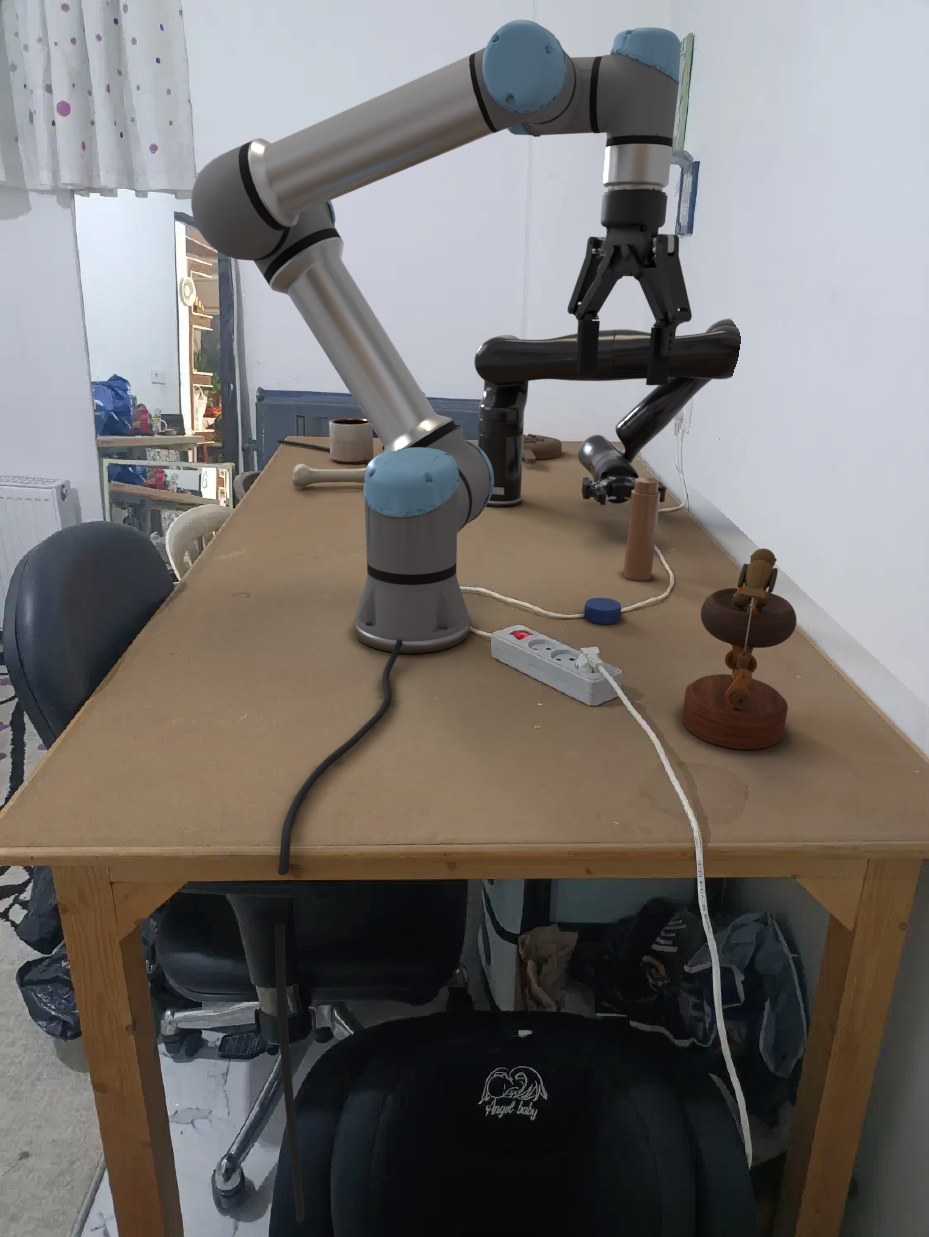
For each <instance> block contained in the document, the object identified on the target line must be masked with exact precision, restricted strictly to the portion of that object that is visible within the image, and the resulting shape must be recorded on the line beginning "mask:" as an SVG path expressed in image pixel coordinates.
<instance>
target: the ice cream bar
mask: <svg viewBox="0 0 929 1237" xmlns="http://www.w3.org/2000/svg"><path fill="white" fill-rule="evenodd" d="M562 452H563V443H562V441H561V440H560V439H558V438H555V437H552V436H551V437H550V436H545V435H540V434H532V433H528V434H525V433H523V455H522V460H524V461H525V463H526V464H536V461H537V460H546V459H554V458H557V457H560V456H561V455H562Z"/></svg>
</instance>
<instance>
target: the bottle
mask: <svg viewBox="0 0 929 1237" xmlns="http://www.w3.org/2000/svg"><path fill="white" fill-rule="evenodd" d="M659 481H660V480H658V479H657V478H653V477H639V478H637V479H635V481H634V483H635V487H634V490H632V491H631V499H630V500H629V502H630V503H629V511H628V522H627V523H628V524H627V534H626V535H627V536H626V545H625V557H624V566H623V577H624V578H626V579H628V580H630V581H636V582H638V581H641V582H642V581H648V580H650V579H652V575H653V574H652V573H653V565H654V557H655V556H654V555H655V548H656V535H657V527H658V517H659V507H660V502H659V499H660V492H659V491H658V482H659Z"/></svg>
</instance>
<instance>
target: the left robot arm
mask: <svg viewBox="0 0 929 1237" xmlns="http://www.w3.org/2000/svg"><path fill="white" fill-rule="evenodd" d="M681 48H682V43H681V39H680V38H679V37H678V35H677V33H675V32H674V31H671V30H669V29H667V28H661V27H649V26H648V27H636V28H634V29H625V30H623V31H620V32H619V33H617V34H616V35H615V37H614V38H613V42H612V48H611V49H610V54H603V55H598V56H577V57H576V56H575V57H574V56H573V57H571V56H570V55H569V54H568V53H567V52H566V51H565V49H564V48H563V47H562V44H561V42H560V40H559V39H558V38H557V37H556V36H555V34H554V33H552V32H551V30H549V29H547V28H545V27H544V26H543V25H541V24H539V23H537V22H536V21H532V20H529V19H515V20H511V21H509V22H506V23H505V24H503V25H501V26H500V27H499V28H498V29H497V30H496V31H495V32H494V33H493V34H492V36H491V37H490V39H489V41H488V42H487V44H486V46H485V47H483V48H481V49H479V50H477V51H475V52H473V53H471V54H469V55H467V56H465V57H462V58H460V59H458V60H455V61H454V62H451V63H449V64H447V65H444V66H442V67H440V68H438V69H435V70H433V71H431V72H428V73H426V74H424V75H422V76H420V77H418V78H415V79H412V80H411V81H409V82H406V83H404V84H402V85H399V86H398V87H395V88H393V89H390V90H388V91H386V92H383V93H381V94H380V95H377V96H375V97H373V98H370V99H368V100H366V101H364V102H361V103H359V104H356V105H355V106H353V107H350V108H348V109H346V110H343V111H342V112H341V111H340V112H339V113H337V114H335V115H334V114H333V115H332V116H330V117H328V118H326V119H323V120H322V121H319V122H316V123H314V124H312V125H310V126H307V127H305V128H303V129H301V130H298V131H296V132H294V133H292V134H290V135H287V136H285V137H283V138H281V139H278V140H276V141H274V142H270V141H268V140H267V139H264V138H262V137H260V138H259V137H258V138H255V139H254V138H253V139H252V140H249V141H248V142H246V143H244V144H241V145H238V146H237V147H235V148H232V149H230V150H227V151H226V152H224V153H221V154H219V155H218V156H216V157H214V158H212V159H211V160H210V161H208V162H207V163H206V164H205V165H204V166H203V167H202V168H201V170H200V171H199V172H198V173H197V175H196V177H195V180H194V182H193V185H192V189H191V196H190V197H191V198H190V207H191V213H192V217H193V220H194V223H195V225H196V228H197V229H198V231H199V234H200V235H201V236H202V238H203V239H204V241H206V242H207V243H208V245H209V246H211V247H212V248H213V249H214V250H215V251H217V252H218V253H220V254H222V255H224V256H226V257H228V258H231V259H234V260H240V261H253V262H254V264H255V266H256V267H257V268H258V270H259V272H260V273H261V275H262V277H263V278H264V280H265V281H266V283H267V284H268V286H269V288H270V289H271V290H272V291H274V292H277V293H280V294H285V295H287V296H288V297H289V298H290V300H291V301H292V303H293V305H294V306H295V308H296V309H297V311H298V313H299V314H300V315H301V317H302V319H303V321H304V322H305V324H306V325H307V327H308V329H309V330H310V332H311V333H312V335H313V337H314V338H315V340H316V342H317V343H318V344H319V346H320V347H321V350H323V352H324V354H325V355H326V357H327V358H328V360H329V362H330V363H331V364H332V366H333V368H334V370H335V371H336V373H337V374H338V376H339V378H340V379H341V380H342V383H343V384H344V385H345V387H346V388H347V390H348V392H349V393H350V395H351V396H352V398H353V400H354V401H355V403H356V404H357V406H358V407H359V409H360V411H361V413H362V414H363V416H364V417H365V419H367V420H368V422H369V423H370V425H371V426H372V428H373V432H374V433H375V435H376V436H377V438H378V439H379V441H380V443H381V444H382V447H383V446H384V449H383V452H382V453H380V454H378V455H376V456H375V457H373V459H372V460H370V462H369V464H367V466H366V467H367V468H366V467H365V468H366V471H365V483H363V489H362V493H363V499H364V520H365V545H366V546H365V548H366V549H365V550H366V579H365V584H364V586H363V589H362V592H361V596H360V600H359V602H358V606H357V609H356V612H355V617H354V633H355V636H356V638H357V639H358V640H359V641H360V642H362V643H363V644H365V645H367V646H368V647H371V648H374V649H377V650H380V651H384V652H390V656H389V658H388V660H387V662H386V664H385V666H384V669H383V673H382V677H381V678H382V680H381V683H382V690H383V700H382V702H381V705H380V707H379V708H378V710H377V711H376V713H374V715H373V716H372V717H371V718H370V719H369V720H368V721H367V722H366V723H365V724H364V725H363V726H362V727H361V728H360V729H359V730H358V731H356V733H355V734H354V735H352V736H351V737H350V738H349V739H348V740H347V741H346V742H344V743H343V744H342V745H341V746H339V747H338V748H337V749H335V750H334V751H333V752H332V753H331V754H329V756H327V757H326V758H325V759H324V760H322V762H321V763H320V764H319V765H318V766H317V767H316V768H315V769H314V770H313V772H312V773H311V774H310V775H309V777H307V779H306V780H305V781H304V783H303V784H302V786H301V787H300V788H299V790H298V792H297V793H296V794H295V796H294V798H293V800H292V802H291V804H290V807H289V809H288V811H287V813H286V816H285V819H284V821H283V824H282V829H281V838H280V850H279V861H278V869H277V873H278V875H280V876H284V875H287V873H288V872H289V868H290V867H289V865H290V856H291V842H292V831H293V826H294V822H295V820H296V817H297V814H298V812H299V810H300V807H301V805H302V803H303V801H304V799H305V798H306V796H307V794H308V793H309V791H310V790H311V789H312V787H313V786H314V784H315V783H316V782H317V781H318V780H319V779H320V777H321V776H322V775H323V774H324V773H325V771H326V770H327V769H328V768H330V767H331V765H332V764H334V763H335V762H336V761H337V760H338V759H340V758H341V757H342V756H344V754H346V753H347V752H348V751H349V750H351V749H352V748H353V747H354V746H356V745H357V744H358V743H359V741H361V740H362V738H364V736H366V735H367V734H368V732H370V731H371V730H372V729H373V728H374V727H375V726H376V725H377V724H378V723H379V721H380V720H381V719H382V718H383V717H384V715H385V714H386V712H387V711H388V709H389V706H390V704H391V700H392V691H391V687H390V686H391V685H390V676H391V672H392V669H393V666H394V665H395V662H396V660H397V657H398V655H399V654H425V653H433V652H439V651H443V650H446V649H449V648H452V647H455V646H457V645H458V644H460V643H462V642H463V641H464V640H466V639H467V637H468V636H469V634H470V615H469V612H468V608H467V606H466V601H465V599H464V596H463V593H462V589H461V586H460V583H459V581H458V577H457V561H458V560H457V559H458V558H457V557H458V556H457V554H458V552H457V551H458V533H459V532H460V531H461V530H462V529H464V528H465V527H466V526H467V525H468V524H470V523H471V522H473V521H474V520H476V519H477V518H478V517H480V515H481V514H482V513H483V511H484V510H485V509H486V507H487V506H488V505H487V503H488V501H489V500H490V497H491V495H492V492H493V487H494V474H493V469H492V466H491V463H490V461H489V459H488V457H487V456H486V454H485V453H484V452H483V451H482V449H480V448H479V447H478V444H476V443H474V442H472V441H469V440H468V439H465V437H464V435H463V434H462V433H461V431H460V430H459V428H458V425H456V422H454V421H455V420H453V419H452V417H448V416H444V415H441V414H438V413H436V412H435V409H434V408H433V407H432V405H431V403H430V402H429V400H428V398H427V396H426V394H425V392H424V391H423V390H422V389H421V387H420V385H419V384H418V382H417V380H416V378H415V377H414V376H413V373H412V372H411V371H410V369H409V367H408V366H407V364H406V363H405V361H404V359H403V358H402V356H401V354H400V353H399V351H398V350H397V348H396V346H395V345H394V343H393V342H392V340H391V338H390V337H389V334H388V333H387V331H386V330H385V328H384V327H383V325H382V323H381V321H380V320H379V319H378V317H377V315H376V314H375V312H374V311H373V309H372V307H371V305H370V304H369V302H368V300H367V299H366V297H365V296H364V294H363V293H362V291H361V289H360V287H359V286H358V284H357V283H356V281H355V279H354V277H353V276H352V274H351V273H350V271H349V270H348V268H347V267H346V265H345V263H344V261H343V259H342V258H343V252H344V247H345V242H344V240H343V238H342V236H341V235H340V234H339V232H338V229H337V228H336V227H335V226H336V225H335V224H336V214H335V209H334V206H333V202H332V201H333V200H335V199H338V198H340V197H342V196H344V195H347V194H349V193H352V192H354V191H357V190H359V189H361V188H365V187H367V186H368V185H372V184H373V183H376V182H378V181H381V180H384V179H386V178H388V177H391V176H393V175H395V174H398V173H400V172H403V171H405V170H408V169H410V168H413V167H415V166H418V165H420V164H422V163H424V162H426V161H429V160H433V159H434V158H436V157H439V156H442V155H444V154H446V153H449V152H451V151H453V150H456V149H459V148H461V147H463V146H466V145H469V144H472V143H473V142H475V141H478V140H481V139H483V138H485V137H488V136H490V135H492V134H496V133H498V132H501V131H504V130H506V129H507V131H508V132H509V133H510V134H513V135H515V136H532V137H534V138H539V137H541V136H553V135H576V134H578V135H579V134H606V141H605V152H604V164H603V176H602V186H604V188H607V191H605V192H604V194H603V195H602V197H601V209H600V210H601V211H600V224H601V226H602V227H604V228H605V229H606V233H605V236H589V237H588V238H587V242H586V250H585V256H584V259H583V263H582V265H581V268H580V271H579V274H578V275H577V279H576V282H575V284H574V288H573V291H572V293H571V297H570V299H569V303H568V305H567V313H568V314H569V315H573V316H575V319H576V320H577V331H576V332H577V333H578V334H577V345H578V356H577V372H576V373H579V374H582V373H596V368H597V354H598V340H599V330H600V326H601V325H600V324H601V321H600V320H599V319H600V317H599V315H598V314H599V312H600V310H601V309H602V307H603V306H604V304H605V303H606V301H607V299H608V298H609V295H610V294H611V293H612V291H613V289H614V288H615V286H616V284H617V282H618V281H619V280H621V279H622V278H623V277H633V278H634V280H636V281H638V283H639V285H640V288H641V289H642V290H641V291H642V292H643V295H644V297H645V299H646V302H647V304H648V306H649V309H650V311H651V313H652V315H653V318H654V320H655V322H654V323H653V324H652V326H651V328H650V333H651V337H650V347H649V358H648V368H647V379H645V386H651V387H652V386H658V385H667V382H668V373H669V363H670V356H672V355H673V352H674V344H675V343H674V342H675V336H676V333H677V328H678V327H679V325H682V324H683V323H689V322H691V320H692V317H693V313H692V309H691V304H690V300H689V295H688V291H687V287H686V283H685V282H686V281H685V278H684V274H683V273H684V272H683V268H682V265H681V264H682V263H681V259H680V237H679V235H678V234H674V233H673V234H672V233H670V234H669V233H659V229H660V228H663V227H664V226H665V224H666V219H667V218H666V216H667V207H668V197H669V196H668V195H667V193H666V192H665V191H663V189H664V188H666V187H668V186H669V182H670V170H671V162H672V150H673V142H674V141H673V140H674V133H675V132H674V131H675V122H676V114H677V107H678V106H677V104H678V96H679V87H680V65H681ZM423 392H424V393H423ZM424 394H425V395H424ZM425 396H426V397H425ZM274 926H275V927H274V941H275V942H274V945H275V954H274V955H275V986H276V988H275V989H276V1006H277V1024H278V1040H279V1051H280V1052H279V1053H280V1063H281V1064H280V1065H281V1074H282V1076H281V1077H282V1086H283V1097H284V1106H285V1107H284V1108H285V1116H286V1118H285V1119H286V1127H287V1135H288V1136H287V1138H288V1145H289V1146H288V1147H289V1155H290V1164H291V1172H292V1173H291V1174H292V1184H293V1185H292V1186H293V1194H294V1204H295V1205H294V1207H295V1216H296V1217H295V1218H296V1222H297V1221H298V1222H299V1223H301V1222H303V1220H304V1217H305V1218H306V1215H305V1214H306V1213H305V1203H304V1191H303V1190H304V1189H303V1180H302V1169H301V1159H300V1149H299V1138H298V1128H297V1119H296V1108H295V1099H294V1097H295V1096H294V1088H293V1087H294V1086H293V1085H294V1084H293V1075H292V1073H293V1072H292V1064H291V1063H292V1061H291V1050H290V1036H289V1034H290V1033H289V1019H288V1000H287V974H286V971H287V970H286V969H287V968H286V924H283V923H277V924H274Z"/></svg>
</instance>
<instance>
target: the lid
mask: <svg viewBox="0 0 929 1237" xmlns="http://www.w3.org/2000/svg"><path fill="white" fill-rule="evenodd" d="M583 616H584V619H585V620H587V622H588V621H589V622H591V623H592V624H593V623H594V624H600V625H612V624H615V623H618V622H619V621H620V620H621V618H622V604H621V602H619V601H618V600H615V599H612V598H609V597H593V598H590V599H587V600H586V601H585V604H584V612H583Z"/></svg>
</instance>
